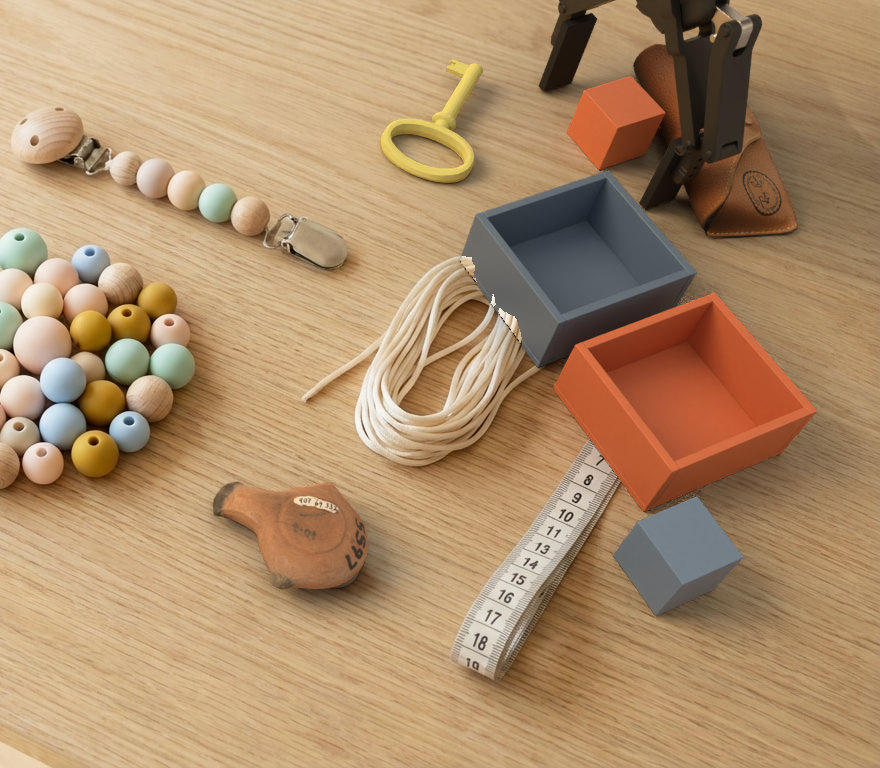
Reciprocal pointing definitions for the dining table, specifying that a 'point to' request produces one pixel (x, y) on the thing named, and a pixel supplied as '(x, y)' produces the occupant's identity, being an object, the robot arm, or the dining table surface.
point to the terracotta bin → (681, 400)
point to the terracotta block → (615, 122)
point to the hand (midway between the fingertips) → (603, 141)
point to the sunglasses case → (722, 166)
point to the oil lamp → (299, 532)
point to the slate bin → (575, 264)
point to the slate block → (677, 555)
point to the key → (437, 131)
